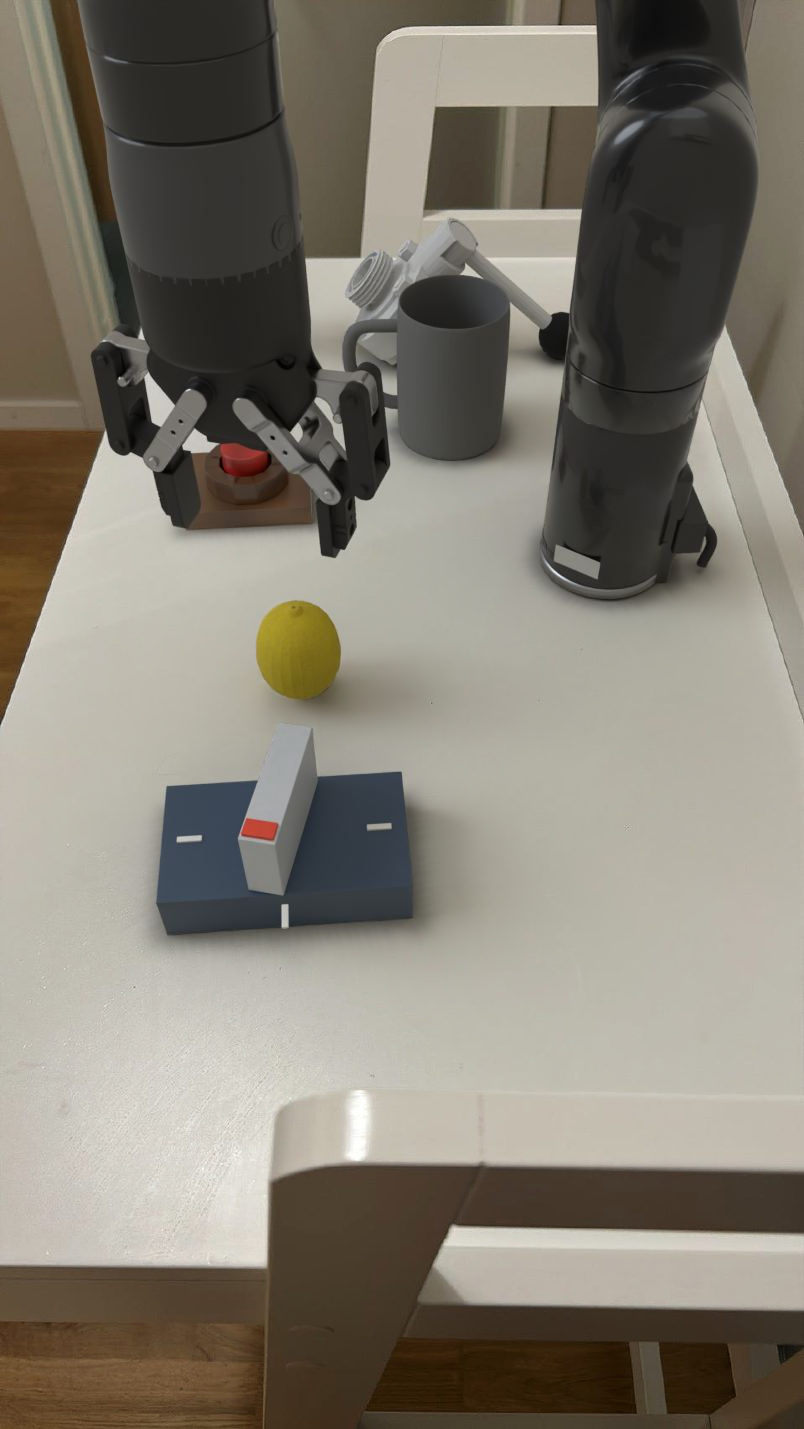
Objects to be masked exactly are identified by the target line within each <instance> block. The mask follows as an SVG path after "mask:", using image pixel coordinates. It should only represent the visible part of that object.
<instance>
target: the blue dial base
mask: <svg viewBox="0 0 804 1429" xmlns="http://www.w3.org/2000/svg"><path fill="white" fill-rule="evenodd" d="M257 782H258V779H257V780H256V779H255V780H241V781H226V782H225V781H224V782H210V783H209V782H208V783H207V782H206V783H193V784H177V785H175V784H174V785H166V787H165V797H164V808H163V809H164V810H163V820H162V821H163V822H162V830H161V831H162V833H161V844H160V854H159V867H158V875H157V876H158V877H157V889H156V900H155V904H156V907H157V909H158V913H159V916H160V918H161V921H162V924H163V927H164V929H165V933H166V934H167V936H169V935H171V936H172V935H186V934H200V933H213V932H214V933H215V932H229V931H242V930H244V931H245V930H257V929H271V928H281V929H282V930H284V929H285V930H286V929H289V928H290V927H300V926H301V927H302V926H316V925H329V924H330V925H331V924H343V923H345V924H346V923H356V922H357V923H358V922H373V921H386V920H387V921H388V920H389V921H390V920H402V919H403V920H404V919H412V918H413V908H414V906H413V904H414V903H413V901H414V898H413V896H414V885H413V872H412V863H411V854H410V852H411V851H410V842H409V832H408V822H407V812H406V803H405V802H406V800H405V791H404V781H403V772H402V771H385V772H384V771H383V772H369V773H353V774H352V773H351V774H341V775H340V774H339V775H321V776H318V783H317V786H316V790H315V793H314V796H313V800H312V803H311V806H310V810H309V813H308V816H307V820H306V823H305V826H304V830H303V833H302V836H301V839H300V843H299V846H298V849H297V853H296V856H295V859H294V863H293V866H292V869H291V873H290V876H289V879H288V883H287V886H286V889H285V893H284V895H277V894H271V893H265V892H258V891H252V890H249V888H248V884H247V879H246V874H245V870H244V865H243V861H242V856H241V851H240V847H239V842H238V837H239V834H240V831H241V828H242V825H243V822H244V819H245V817H246V814H247V811H248V808H249V805H250V802H251V799H252V796H253V793H254V791H255V788H256V785H257Z"/></svg>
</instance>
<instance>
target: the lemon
mask: <svg viewBox="0 0 804 1429" xmlns="http://www.w3.org/2000/svg"><path fill="white" fill-rule="evenodd" d="M255 657H256V662H257V666H258V668H259V671H260V673H261V676H262V678H263V680H264V681H265V682H266V683H267V685H268V687H270V688H271V689H272V690H273V691H275V692H276V693H277V694H279V695H281V696H282V697H286V698H288V699H293V700H306V699H311V698H315V697H316V696H319V695H320V694H322V693H324V692H325V691H326V690H327V689H328V688H329V687H330V686H331V685H332V683H333V682H334V680H335V679H336V676H337V675H338V672H339V670H340V666H341V657H342V646H341V641H340V637H339V633H338V630H337V628H336V625H335V624H334V622H333V620H332V619H331V617H330V616H329V614H328V613H327V612H326V611H325V610H324V609H323V608H321V607H320V606H318V605H316V604H315V603H312V602H309V601H306V600H288V601H285V602H282V603H280V604H277V605H275V606H274V607H273V608H272V609H271V610H269V611H268V612H267V613H266V615H265V616H264V617H263V618H262V620H261V622H260V625H259V628H258V631H257V634H256V641H255Z"/></svg>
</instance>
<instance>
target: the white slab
mask: <svg viewBox="0 0 804 1429" xmlns="http://www.w3.org/2000/svg"><path fill="white" fill-rule="evenodd" d="M313 730H314V729H313V727H312V726H308V725H307V726H306V725H300V724H299V725H298V724H293V723H286V722H277V724H276V728H275V730H274V733H273V735H272V739H271V742H270V744H269V748H268V750H267V754H266V756H265V759H264V762H263V765H262V768H261V769H260V770H261V771H260V773H259V777H258V779H257V780H258V782H257V785H256V788H255V791H254V793H253V796H252V799H251V802H250V805H249V808H248V811H247V814H246V817H245V819H244V822H243V825H242V828H241V831H240V834H239V837H238V842H239V847H240V851H241V856H242V861H243V865H244V870H245V874H246V879H247V884H248V888H249V890H252V891H258V892H265V893H271V894H277V895H284V893H285V889H286V886H287V883H288V879H289V876H290V873H291V869H292V866H293V863H294V859H295V856H296V853H297V849H298V846H299V843H300V839H301V836H302V833H303V830H304V826H305V823H306V820H307V816H308V813H309V810H310V806H311V803H312V800H313V796H314V793H315V790H316V786H317V783H318V777H319V776H318V770H317V769H318V768H317V758H316V757H317V756H316V749H315V739H314V731H313Z"/></svg>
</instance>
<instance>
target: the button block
mask: <svg viewBox="0 0 804 1429" xmlns="http://www.w3.org/2000/svg"><path fill="white" fill-rule="evenodd" d="M221 445H222V444H218V443H217V444H216V445H215V446H214V447H213V448H212V449H211V450H210V451H208V452H206V451H205V452H191V454H192V459H193V464H194V469H195V474H196V479H197V484H198V489H199V494H200V499H201V509H200V512H199V513H198V515H197V516H196V518H195V519H194V521H193V522H192V523H191V525H190V526H189V527H188V528H187V529H185V530H186V531H197V530H198V531H200V530H216V529H217V530H219V529H236V528H239V529H241V528H253V527H254V528H257V527H277V526H278V527H279V526H299V525H312V524H313V501H312V496H313V495H312V489H311V488H310V486H309V485H308V484H307V483H306V482H305V480H304V479H303V478H302V477H301V476H300V475H299V474H291V473H290V472H288V471H287V470H286V468H285V467H284V466H283V465H282V464H281V462H280V461H279V460H278V459H277V458H276V456H275V455H274V454H273V453H272V452H271V450H270V449H269V448H268V450H267V454H268V462H269V463H268V467H267V469H266V470H265V471H264V472H262V473H260V474H257V475H255V476H250V477H236V476H233V475H230V474H228V473H227V472H226V471H225V470H224V468H223V462H222V456H221Z"/></svg>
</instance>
